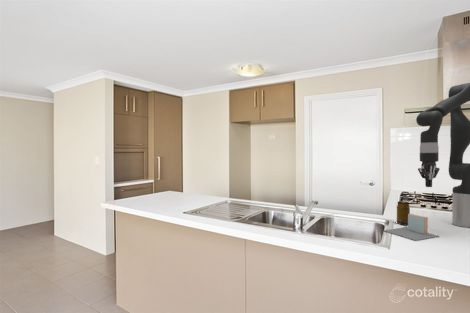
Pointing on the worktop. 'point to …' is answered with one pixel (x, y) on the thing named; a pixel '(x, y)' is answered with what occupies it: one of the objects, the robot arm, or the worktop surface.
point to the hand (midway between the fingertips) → (428, 186)
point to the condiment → (403, 212)
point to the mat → (410, 234)
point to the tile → (418, 223)
